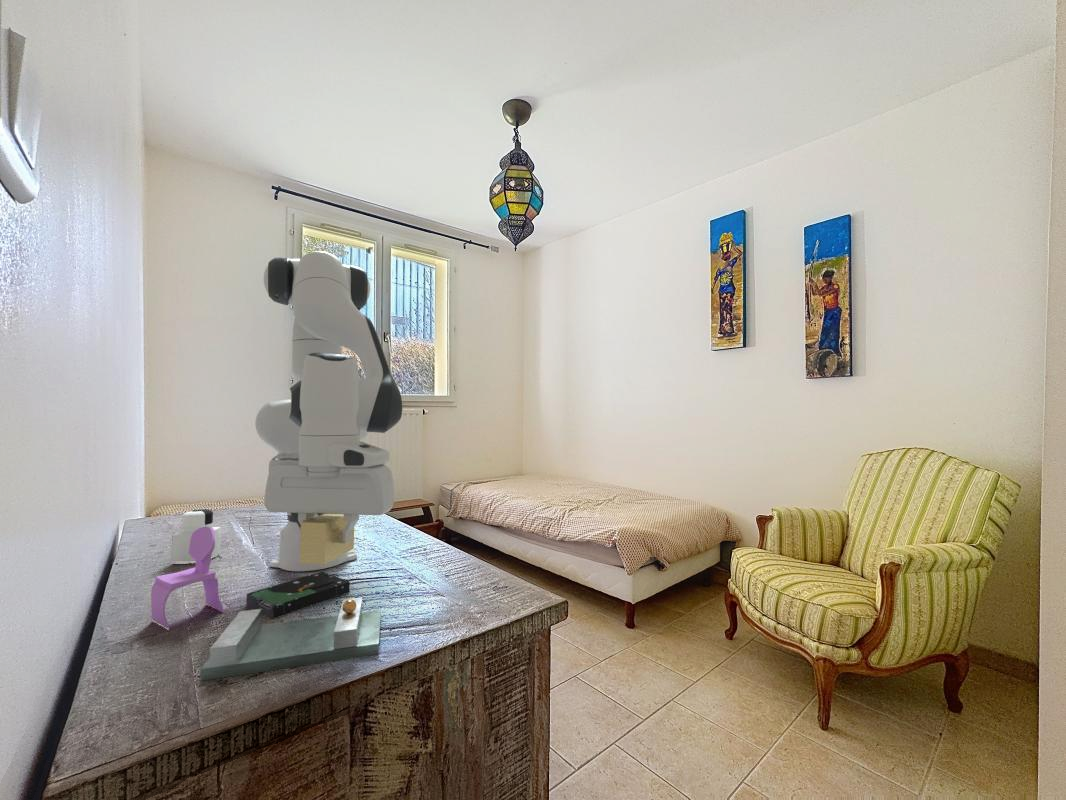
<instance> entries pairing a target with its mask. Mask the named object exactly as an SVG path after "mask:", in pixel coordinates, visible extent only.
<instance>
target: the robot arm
mask: <svg viewBox="0 0 1066 800" xmlns="http://www.w3.org/2000/svg"><path fill="white" fill-rule="evenodd" d="M267 263H268V264H267V266H266V267H265V269H264V273H263V285H264V287H265V290H266V292H267V294H268V297H269V298H270V299H271V300H272V301H273V302H275V303H277V304H282V305H286V306H289V305H291V306H292V311H293V315H294V321H293V326H292V341H291V342H292V343H291V344H292V345H291V346H292V347H291V358H292V359H291V361H292V362H291V371H292V373H293V376H294V377H295V378H296V380H299V381H297V382H296V383H295V384H293V385H292V386H291V387H289V390H290V393H291V395H290V396H291V398H288V399H280V400H273V401H268V402H266V403H265V404H264V405H263V406H261V408H260V409H258V412H257V414H256V417H255V430H256V433H257V434H258V436H259V438H260V439H261V440H262V442H264V443H265V444H266V445H268V446H270V447H271V448H273V449H274V450H275V451H276V452H277V455H275V456H273V457H272V458H271V460H269V463H268V476H267V481H266V485H265V490H264V491H265V493H264V499H263V500H264V503H263V504H264V507H265V510H267V512H269V513H286V515H287V523H286V524H285V525H284V526H283V527H282V528H281V529H280V531H279V540H278V553H277V556H276V557H275V558H274V559H272V560H271V561H270V564H269V567H271V568H280V569H282V570H284V571H287V572H288V571H289V572H310V571H317V570H323V569H327V568H332V567H335V566H338V565H341V564H343V563H345V562H350V561H353V560H356V559H357V558H358V554H357V551H356V550H355V548H354V549H352V550H350V551H348V552H347V553H345V554H343V555H341V556H339V557H337V558H335V559H334V560H332V561H330V562H328V563H326V564H309V563H300V534H301V522H303V521H306V520H309V519H312V518H314V517H317V516H320V515H323V514H344V521H347V523H346V525H345V527H344V529H343V530H341V531H339V532H337V537H338V539H337V542H338V543H349V542H350V541H351V539H352V530H353V528H354V529H355V527H356V525H357V523H358V521H359V519H360V516H381V515H385V514H387V513H389V512H390V511H391V509H393V506H394V504H395V491H394V489H395V488H394V479H393V478H394V477H393V474H392V471H391V469H390V467H389V466H387V465H386V464H388V463H389V461H390V453H389V451H388V450H387V449H384V448H380V447H378V446H376V445H372V444H369V443H367V442H364V441H362V440H364V439H365V438H366V437H367V436H368V434H369V433H379V434H382V433H383V434H385V433H386V432H388V431H389V430H391V429H392V428H393V427H395V426H396V425H397V424H398V423H399V422H400V421H401V418H402V414H403V407H404V406H403V398H402V395H401V391H400V388H399V387H398V384H397V383H396V381H395V379H394V377H393V375H392V373H391V370H390V369H391V368H390V366H389V364H388V360H387V358H386V356H385V352H384V350H383V347H382V343H381V341H380V338H379V336H378V333H377V331H376V327H375V326H374V324H373V322H372V319H370V318H369V317H368V316H366V315H365V314H363V313H362V312H361V311H360V310H362V309H363V308H364V307H365V306H366V304H367V302H368V300H369V297H370V293H371V284H370V281H369V278H368V275H367V273H366V271H365V270H364V269H362V268H361V267H359V266H355V265H353V264H349V265H346V264H343V263H342V261H341V260H340V259H339V258H338V257H336V256H335V255H333V254H332V253H329V252H326V251H322V250H315V251H310V252H307V253H306V254H303V256H302V257H301V258H289V257H288V256H281V257H280V256H279V257H278V256H277V257H274V258H272V259H271V260H270V261H269V262H267ZM343 347H344V348H345V349H348V350H350V351H352V352H353V353H355V355H356V356H357V357H358V358H359V360H360V364H361V366H362V369H363V373H364V378H360V371H359V366H358V362H357V358H356V357H354V356H352V355H350V354H346V353H343Z"/></svg>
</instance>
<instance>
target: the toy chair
mask: <svg viewBox="0 0 1066 800" xmlns="http://www.w3.org/2000/svg"><path fill="white" fill-rule="evenodd" d="M213 527H214V526H211V527H207V526H206V527H201V528H199V529H197V530H196V531H194V532H193V534H192V536H191V540H190V547H189V554H190V555H191V556H192V558H194V559H195V560H196V564H195V567H191V568H188V569H184V570H180V571H178V572H173V573H167V574H163V575H158V576H155V581H154V583H153V585H152V586H151V591H150V592H151V593H150V600H151V602H150V604H151V606H150V607H151V620H152V619H153V620H154V621H156V622H157V623H159V624H161V625H163V626H164V627H166V628H170V626H169V623H168V620H167V617H166V611H165V610H166V609H165V608H166V604H167V601H168V599H169V596H170V594H172V592H174V591H175V590H178V589H180V588H183V587H186V586H189V585H191V584H196V583H200V582H202V584H203V588H204V593H205V605H206V604H208V605H210V606H212V607H214V608H215V609H218V610H219V611H218V612H220V611H222V612H223V611H224V612H225V609H224V606H223V605H222V602H221V599H220V596H219V581H218V578H216V572H214V571H211V570H210V565H211V560H212V559H211V555H212V552H213V550H214V547H215V533H214V529H213ZM215 609H214V610H215ZM222 612H221V613H222ZM224 612H223V613H224Z"/></svg>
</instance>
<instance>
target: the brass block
mask: <svg viewBox="0 0 1066 800" xmlns="http://www.w3.org/2000/svg"><path fill="white" fill-rule="evenodd" d="M346 523H347V521H344V514H323V515H320V516H317V517H314V518H312V519H309V520H306V521H303V522H301V534H300V563H309V564H326V563H328V562H330V561H332V560H334V559H335V558H337V557H339V556H341V555H343V554H345V553H347V552H348V551H350V550H352V549H354V550H355V527H354V528H353V530H352V539H351V541H350V542H349V543H338V542H337V539H338V537H337V532H339V531H341V530H343V529H344V527H345V525H346Z"/></svg>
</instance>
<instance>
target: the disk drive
mask: <svg viewBox="0 0 1066 800" xmlns="http://www.w3.org/2000/svg"><path fill="white" fill-rule="evenodd" d="M350 587H351V581H350V580H347V579H344V578H341V577H338V576H336V575H332V576H330V575H329V573H327V572H325V571H320V572H316V573H313V574H310V575H306V576H303V577H299V578H297V579H292V580H289V581H286V582H281V583H279V584H276V585H271V586H268V587H266V588H265V587H264V588H261V589H258V590H255V591H251V592H248V593H246V607H248V608H250V609H251V610H255V609H262V616H265V617H267V618H269V619H271V620H274V619H277V618H280V617H284V616H286V615H288V614H291V613H294V612H297V611H300V610H304V609H306V608H309V607H311V605H312V606H314V604H315V605H318V604H320V603H323V602H326V601H328V600H331V599H335V598H337V597H341V596H343V595H346V594H349V593H350V592H351V591H350ZM317 603H318V604H317Z"/></svg>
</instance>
